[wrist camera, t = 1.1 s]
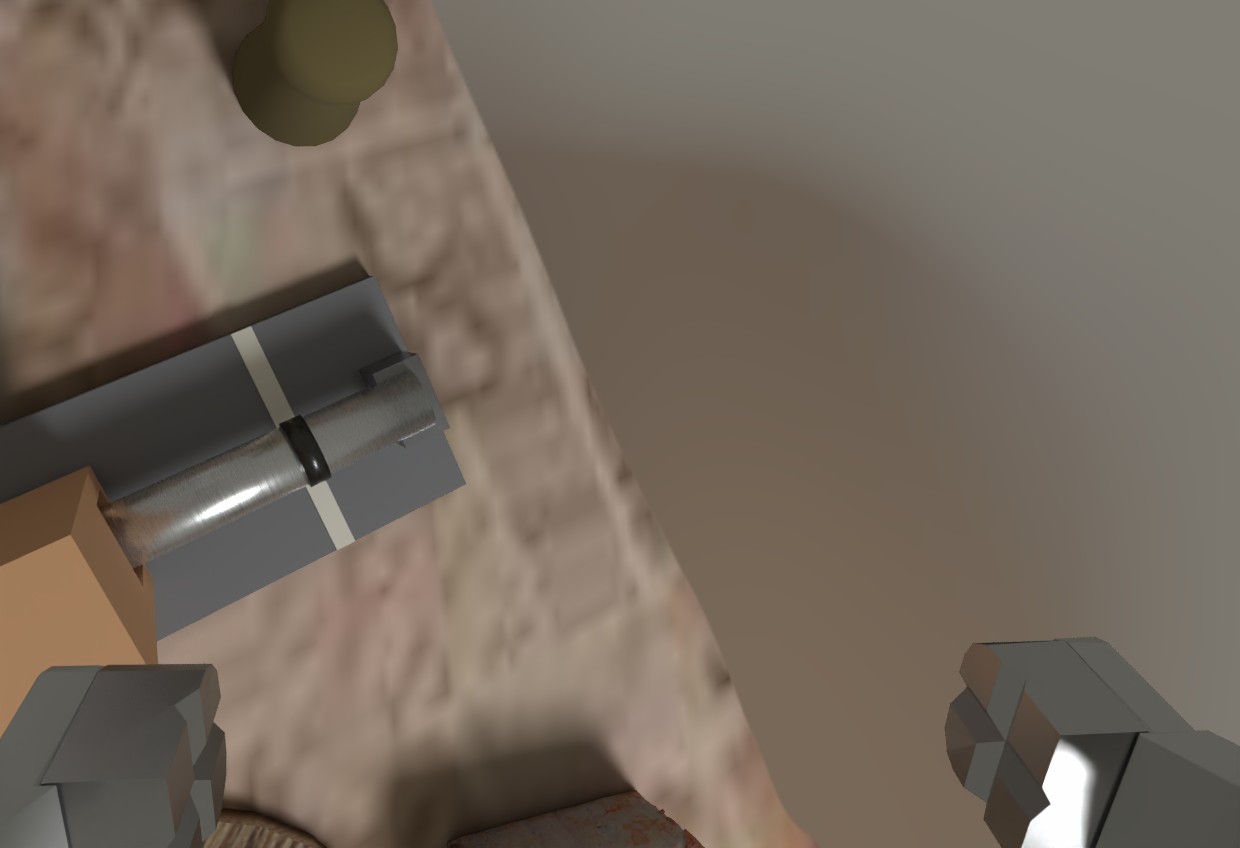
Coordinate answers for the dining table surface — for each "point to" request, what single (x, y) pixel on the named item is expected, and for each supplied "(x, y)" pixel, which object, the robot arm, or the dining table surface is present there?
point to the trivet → (256, 832)
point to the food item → (589, 828)
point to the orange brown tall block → (67, 589)
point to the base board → (227, 417)
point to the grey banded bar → (280, 461)
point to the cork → (313, 66)
